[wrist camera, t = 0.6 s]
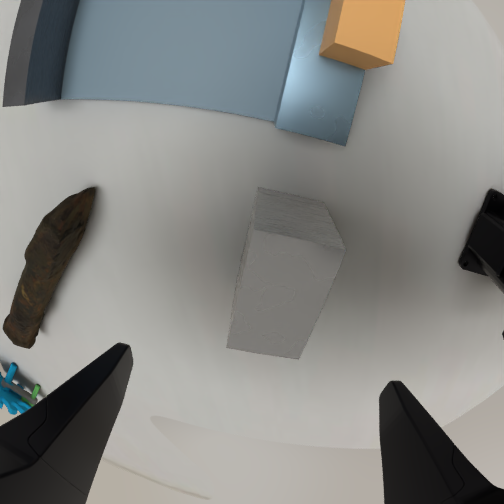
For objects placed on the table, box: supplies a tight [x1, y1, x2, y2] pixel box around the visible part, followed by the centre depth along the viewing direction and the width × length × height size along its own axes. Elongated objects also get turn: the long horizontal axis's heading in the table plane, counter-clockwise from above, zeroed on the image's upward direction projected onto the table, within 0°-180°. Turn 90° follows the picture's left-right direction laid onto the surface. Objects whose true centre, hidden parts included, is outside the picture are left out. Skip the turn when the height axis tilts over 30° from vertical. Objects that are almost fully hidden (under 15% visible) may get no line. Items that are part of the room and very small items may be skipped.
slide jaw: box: [274, 0, 405, 146], centre depth 9 cm, size 3×11×6 cm, turn 168°
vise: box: [3, 0, 303, 122], centre depth 10 cm, size 19×11×4 cm, turn 78°
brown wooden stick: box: [3, 187, 95, 349], centre depth 19 cm, size 19×4×5 cm, turn 133°
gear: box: [0, 363, 40, 415], centre depth 29 cm, size 11×6×10 cm
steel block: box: [226, 187, 346, 359], centre depth 17 cm, size 4×7×6 cm, turn 168°
